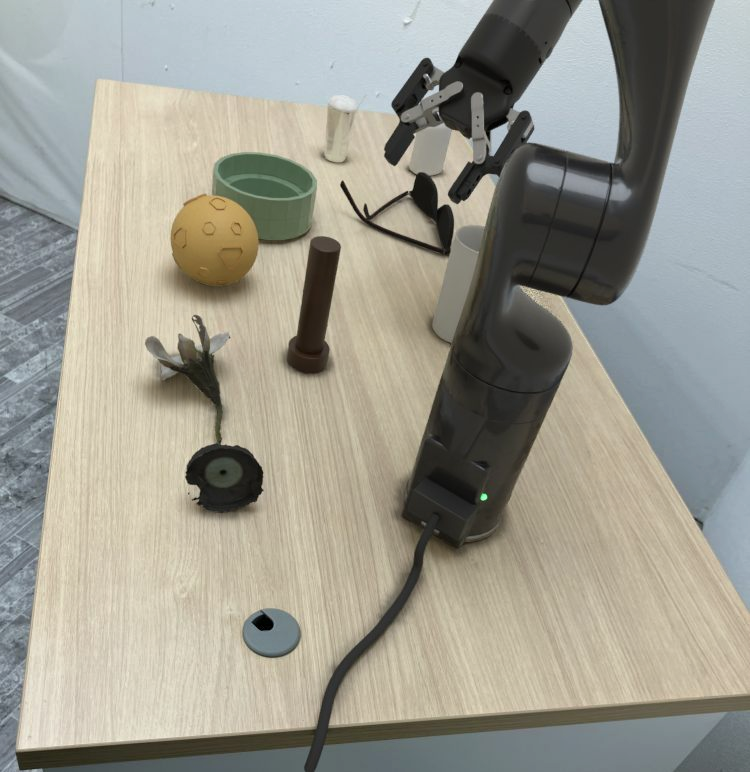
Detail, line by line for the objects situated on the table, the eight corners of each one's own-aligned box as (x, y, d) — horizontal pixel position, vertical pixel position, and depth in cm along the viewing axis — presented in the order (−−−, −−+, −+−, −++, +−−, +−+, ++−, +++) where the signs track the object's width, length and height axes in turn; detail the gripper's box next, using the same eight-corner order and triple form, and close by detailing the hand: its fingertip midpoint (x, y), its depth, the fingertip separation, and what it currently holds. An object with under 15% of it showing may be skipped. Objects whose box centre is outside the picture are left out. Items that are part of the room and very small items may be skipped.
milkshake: (353, 167, 124) (365, 100, 117) (319, 161, 124) (329, 93, 117) (354, 155, 128) (366, 89, 121) (321, 149, 127) (330, 82, 120)
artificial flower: (169, 526, 70) (134, 434, 63) (169, 387, 86) (142, 302, 80) (271, 505, 70) (247, 411, 64) (251, 371, 87) (231, 286, 80)
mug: (486, 351, 96) (518, 260, 87) (431, 343, 95) (458, 250, 86) (478, 305, 103) (506, 217, 94) (426, 297, 102) (451, 207, 93)
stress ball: (191, 249, 99) (194, 169, 92) (266, 273, 99) (275, 195, 92) (154, 286, 92) (154, 203, 85) (235, 313, 91) (241, 231, 84)
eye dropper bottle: (406, 162, 130) (423, 84, 121) (440, 168, 131) (459, 90, 122) (409, 174, 127) (427, 94, 118) (443, 180, 128) (463, 101, 119)
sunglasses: (327, 192, 117) (332, 158, 113) (419, 197, 122) (427, 165, 118) (357, 253, 106) (364, 218, 103) (457, 256, 111) (467, 222, 107)
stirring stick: (311, 379, 86) (331, 260, 76) (278, 360, 87) (294, 241, 77) (334, 362, 89) (356, 245, 79) (302, 344, 90) (320, 227, 80)
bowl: (270, 255, 102) (274, 210, 97) (190, 213, 105) (191, 168, 101) (329, 224, 110) (336, 181, 106) (254, 186, 114) (258, 143, 110)
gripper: (448, -14, 79) (355, 132, 81) (568, 45, 74) (465, 197, 77) (467, 33, 86) (380, 166, 89) (577, 89, 81) (483, 227, 84)
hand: (420, 180), depth 83 cm, fingers open, 8 cm apart
